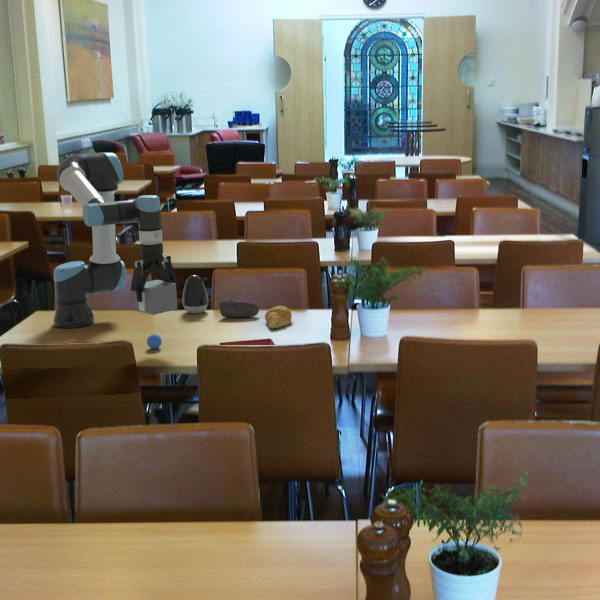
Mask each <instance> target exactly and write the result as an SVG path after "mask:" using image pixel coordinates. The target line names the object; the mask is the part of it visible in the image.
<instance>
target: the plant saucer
mask: <svg viewBox="0 0 600 600" xmlns="http://www.w3.org/2000/svg"><path fill="white" fill-rule="evenodd" d="M218 345H219V346H220V345H276V344H275V342H274V341H273V339H272V338H261V339H258V338H257V339H248V340H247V339H245V340H237V341H236V340H235V341H226V342H225V341H223V342H219V343H218Z"/></svg>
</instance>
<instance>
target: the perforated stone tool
mask: <svg viewBox="0 0 600 600" xmlns="http://www.w3.org/2000/svg"><path fill="white" fill-rule="evenodd" d="M218 305H219V313H220V315H221V316H222V317H223V318H230V319H232V318H233V319H241V318H240V317H247V318H252V317H251V316H253V317H255V316H256V315H258V314H259V307H258V305H256V304H255V303H253V302H251V301H245V300H240V299H239V300H238V299H235V300H234V299H222V300H221V301H220V303H218Z"/></svg>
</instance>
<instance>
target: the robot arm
mask: <svg viewBox="0 0 600 600" xmlns="http://www.w3.org/2000/svg"><path fill="white" fill-rule="evenodd" d="M56 177H57V178H56V179H57V182H58V184H59V185H60V186H61V188H62V189H63V190H64V191H65V192H69V193H70V195H72V197H73V198H74V199H75V201H76V202H77V203H78V204H79V206H80V207H81V208H82V212H81V213H82V219H83V222H84V224H85V225H86V226H87V227H91V231H92V233H91V234H92V255H91V256H90V257H89V263H85V262H84V261H83V260H76V261H69V262H64V263H62V264H59V265H57V266H56V267H55V268H54V271H53V282H54V291H55V292H54V293H55V300H56V301H55V302H56V306H55V312H54V315H53V326H54V327H55V326H56V328H59V327H62V328H61V329H74V328H75V327H77V328H83V327H87V326H91V325H92V324H94V323H95V315H94V313H93V311H92V308H91V306H90V304H89V299H88V296H89V295H94V294H102V293H112V292H114V291H115V292H116V291H119V290H122V288H123V287H124V285H126V284H125V283H126V279H127V270H126V264H125V262H124V261H123V260H121V257H120V256H119V255H118V254H117V245H116V243H117V242H116V239H117V238H116V225H119V224H131V223H138V235H139V236H138V238H139V239H138V240H139V242H140V244H139V251H140V255H141V259H140V260H137V261H136V260H134V261H133V273H132V279H131V285H130V291H131V292H133V291H135V292H136V295H137V301H138V302H139V311H144V312H145V311H146V303H145V292H142V291H143V289H144V286H145V283H146V282H148V281H147V280H148V279H149V275H150V274H151V273H152V272H154V271H157V272H158V274H159V275H160V277H161V278H162V279H163V280H162V281H166V282H171V283H176V284H177V283H178V280H177V276H176V273H175V271H174V267H173V263H172V257H171V255H168V254H167V255H166V254H165V255H163V254H164V243H163V242H162V241H163V229H162V212H161V211H162V210H161V208H162V206H161V201H160V197H159V196H158V195H156V194H155V195H152V194H149V195H148V194H147V195H139V196H138V197H137V198H128V199H125V200H117V201H115V194H116V192H117V191H118V190H119V185H120V184H122V183H123V181H124V170H123V167H122V164H121V161H120V158H119V157H118V155H116V154H115V153H114V152H94V153H92V152H91V153H90V152H89V153H81V154H80V153H79V154H78V153H77V154H72V155H70V156H67V157H66V158H64V159H63V160H62V161H61V163H60V164H59V166H58V168H57V171H56ZM139 311H138V312H139ZM75 329H76V328H75Z"/></svg>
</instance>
